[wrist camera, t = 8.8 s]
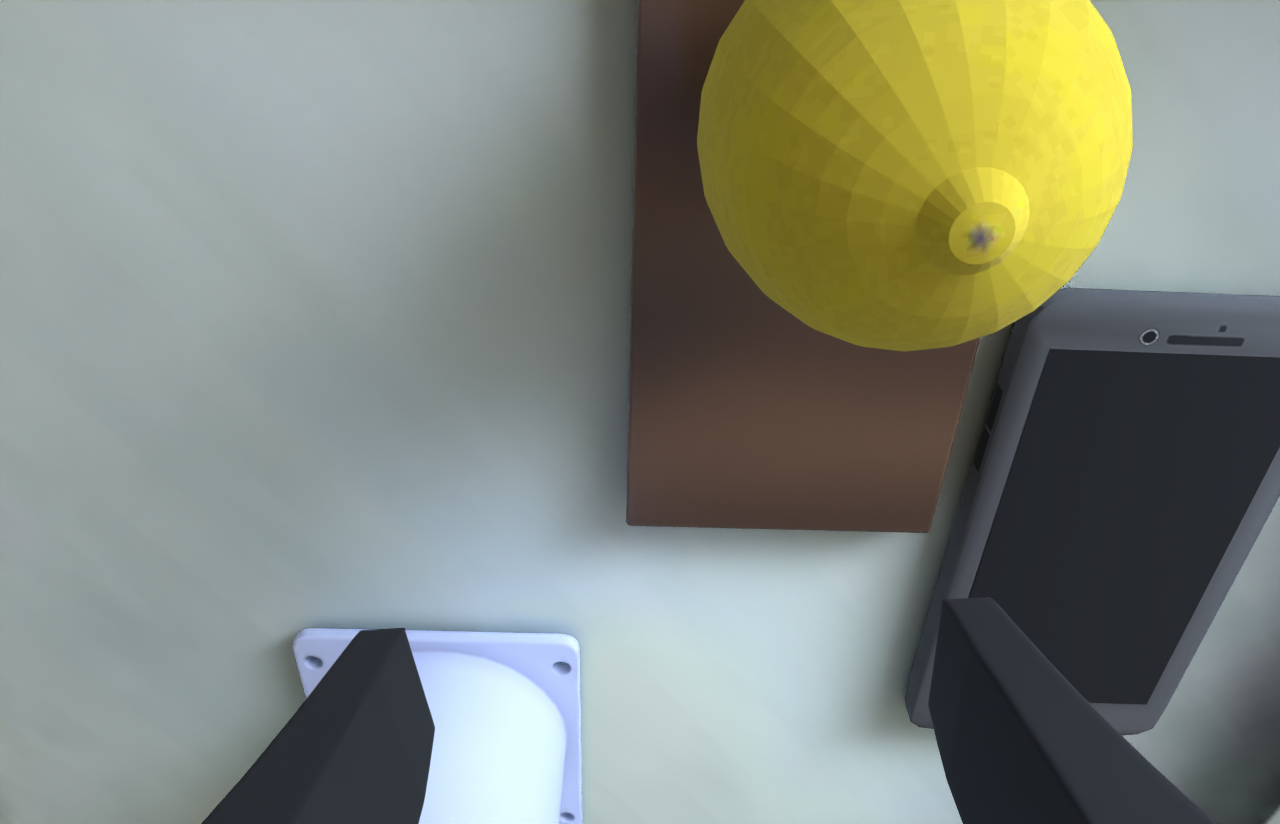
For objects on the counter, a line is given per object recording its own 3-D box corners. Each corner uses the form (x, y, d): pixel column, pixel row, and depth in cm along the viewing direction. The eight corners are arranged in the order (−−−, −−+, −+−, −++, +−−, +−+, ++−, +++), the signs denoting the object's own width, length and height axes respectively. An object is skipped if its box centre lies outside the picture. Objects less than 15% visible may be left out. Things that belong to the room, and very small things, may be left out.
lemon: (632, 14, 15) (620, 128, 8) (937, -168, 14) (1217, -207, 7) (763, 273, 18) (835, 521, 11) (1032, 142, 16) (1307, 332, 10)
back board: (919, 509, 22) (930, 534, 21) (627, 502, 22) (626, 527, 21) (1209, -666, 12) (1253, -708, 11) (652, -686, 12) (652, -729, 11)
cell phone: (897, 711, 26) (903, 732, 25) (1023, 281, 19) (1036, 295, 18) (1139, 719, 26) (1151, 740, 26) (1358, 294, 19) (1383, 309, 18)
